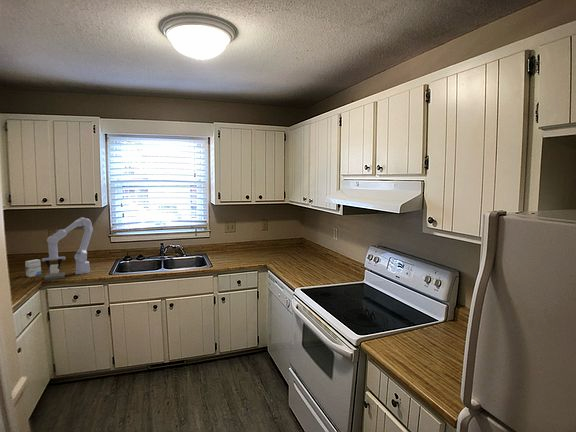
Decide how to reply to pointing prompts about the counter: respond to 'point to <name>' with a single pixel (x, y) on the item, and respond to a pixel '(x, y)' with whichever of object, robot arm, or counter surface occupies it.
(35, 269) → the ink box
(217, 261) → the counter surface
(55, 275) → the stand
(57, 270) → the block
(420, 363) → the counter surface
